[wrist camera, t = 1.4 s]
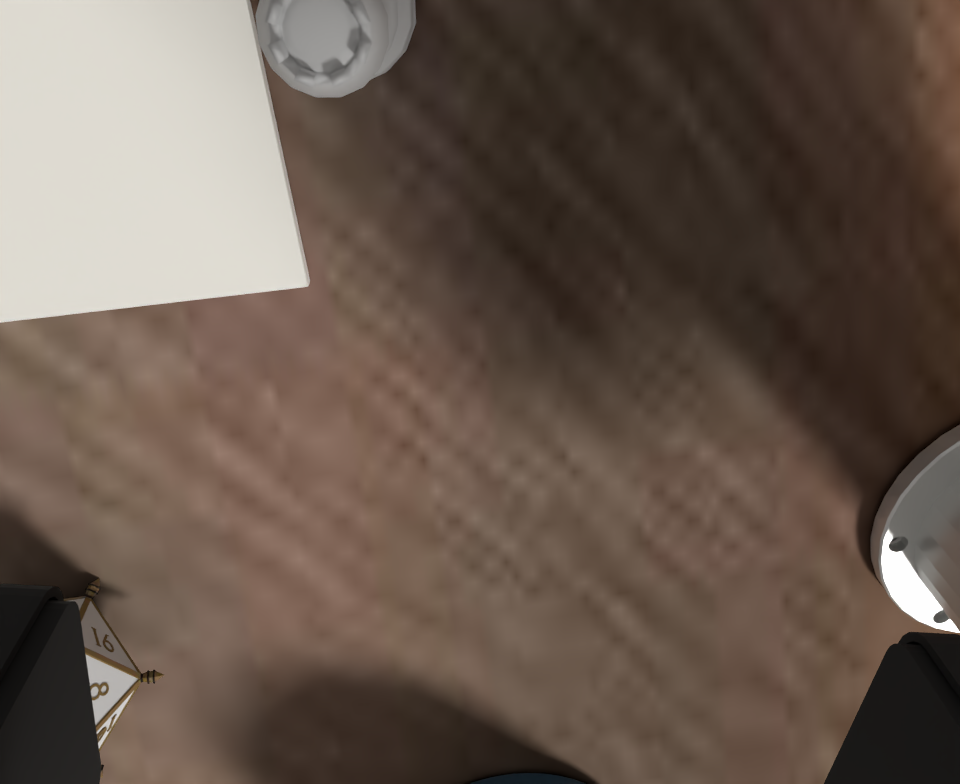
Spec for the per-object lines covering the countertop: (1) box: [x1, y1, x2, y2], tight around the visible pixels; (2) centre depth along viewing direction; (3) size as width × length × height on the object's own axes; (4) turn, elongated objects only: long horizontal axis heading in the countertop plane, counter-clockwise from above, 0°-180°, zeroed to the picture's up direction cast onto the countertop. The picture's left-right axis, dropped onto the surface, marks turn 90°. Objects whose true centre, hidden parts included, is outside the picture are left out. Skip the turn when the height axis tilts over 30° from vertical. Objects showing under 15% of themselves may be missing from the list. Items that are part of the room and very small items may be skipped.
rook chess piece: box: [256, 0, 416, 97], centre depth 23 cm, size 4×4×8 cm
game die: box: [64, 578, 164, 777], centre depth 35 cm, size 9×8×10 cm
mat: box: [0, 0, 310, 322], centre depth 27 cm, size 16×18×1 cm
